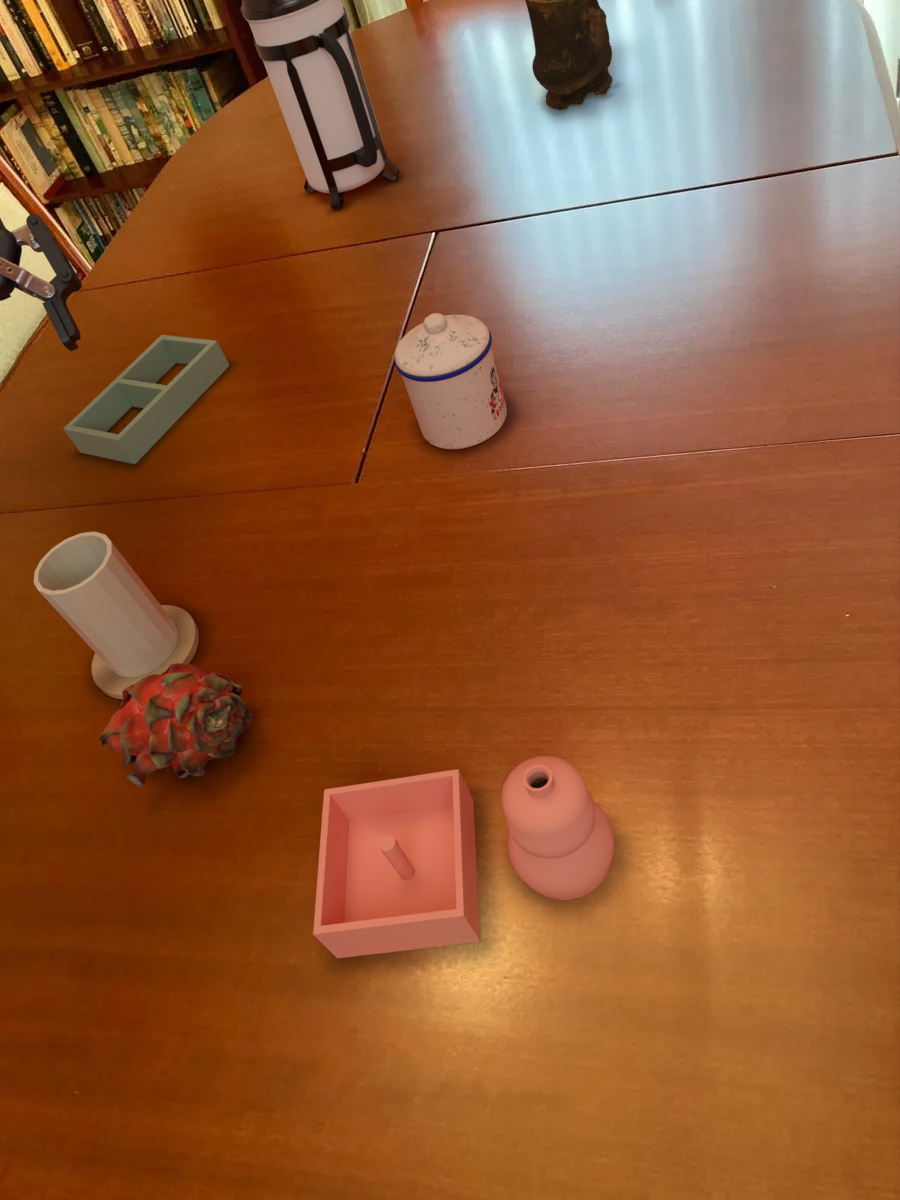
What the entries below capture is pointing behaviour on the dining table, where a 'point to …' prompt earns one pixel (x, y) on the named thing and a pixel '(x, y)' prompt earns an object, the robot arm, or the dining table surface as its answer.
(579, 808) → the pottery
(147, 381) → the divided rectangular holder
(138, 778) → the dragon fruit
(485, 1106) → the dining table surface
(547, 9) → the pottery vessel
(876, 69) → the dining table surface
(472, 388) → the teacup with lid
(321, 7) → the coffee press
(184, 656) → the coaster
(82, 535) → the cup
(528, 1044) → the dining table surface
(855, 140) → the dining table surface
